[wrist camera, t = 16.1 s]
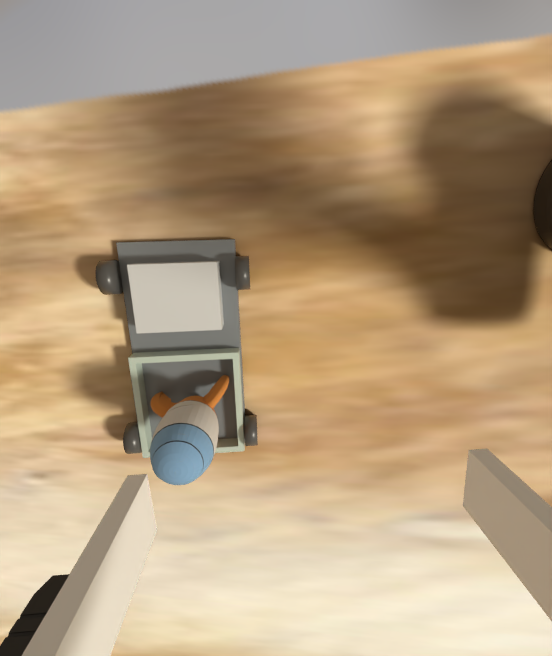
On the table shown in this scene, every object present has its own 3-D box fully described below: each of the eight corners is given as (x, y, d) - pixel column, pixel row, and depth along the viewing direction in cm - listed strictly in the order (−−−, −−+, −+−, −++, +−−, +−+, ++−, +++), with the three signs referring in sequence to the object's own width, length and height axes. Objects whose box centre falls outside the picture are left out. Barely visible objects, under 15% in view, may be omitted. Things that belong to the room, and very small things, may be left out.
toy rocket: (227, 436, 47) (185, 531, 33) (158, 411, 47) (88, 494, 33) (247, 377, 43) (209, 455, 29) (172, 350, 43) (100, 414, 29)
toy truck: (247, 239, 40) (247, 238, 36) (257, 437, 47) (257, 454, 43) (106, 243, 39) (90, 242, 35) (137, 445, 46) (126, 463, 42)
